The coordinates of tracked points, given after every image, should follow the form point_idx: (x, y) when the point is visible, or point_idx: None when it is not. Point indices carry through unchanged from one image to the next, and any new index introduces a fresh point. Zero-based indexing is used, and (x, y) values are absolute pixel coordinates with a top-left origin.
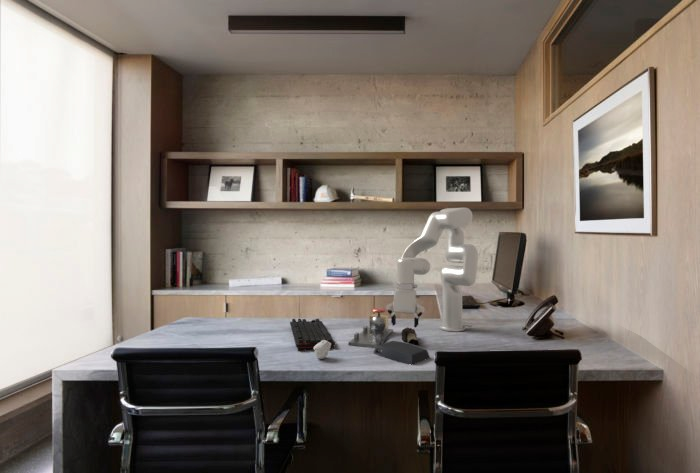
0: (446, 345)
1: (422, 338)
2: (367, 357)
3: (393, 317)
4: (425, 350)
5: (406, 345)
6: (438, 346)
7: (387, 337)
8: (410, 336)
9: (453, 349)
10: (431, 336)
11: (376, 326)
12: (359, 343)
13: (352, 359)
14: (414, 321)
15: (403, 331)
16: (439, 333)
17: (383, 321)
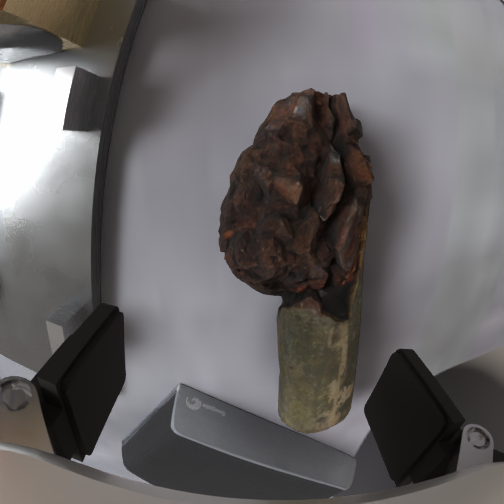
0: (489, 296)
1: (401, 140)
2: (122, 464)
3: (85, 452)
4: (342, 490)
5: (266, 484)
6: (451, 323)
7: (105, 162)
8: (305, 387)
9: (485, 350)
10: (456, 89)
11: (6, 51)
12: (23, 365)
13: (90, 466)
14: (383, 456)
15: (241, 269)
16: (485, 31)
17: (15, 29)
